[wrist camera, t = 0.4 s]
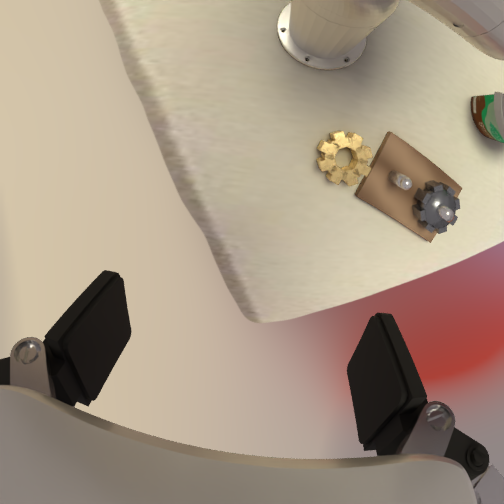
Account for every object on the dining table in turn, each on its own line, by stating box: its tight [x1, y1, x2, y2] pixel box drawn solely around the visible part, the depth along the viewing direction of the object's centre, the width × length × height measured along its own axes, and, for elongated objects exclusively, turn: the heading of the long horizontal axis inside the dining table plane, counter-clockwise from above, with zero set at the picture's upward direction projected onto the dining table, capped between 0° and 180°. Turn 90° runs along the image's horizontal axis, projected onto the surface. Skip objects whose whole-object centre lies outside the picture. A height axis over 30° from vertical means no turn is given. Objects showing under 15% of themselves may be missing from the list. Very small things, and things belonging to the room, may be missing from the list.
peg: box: [388, 170, 412, 190], centre depth 34 cm, size 2×2×5 cm
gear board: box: [355, 132, 462, 243], centre depth 38 cm, size 11×16×2 cm
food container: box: [471, 92, 504, 143], centre depth 27 cm, size 12×6×10 cm, turn 73°
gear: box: [412, 180, 460, 234], centre depth 35 cm, size 8×8×6 cm
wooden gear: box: [316, 131, 373, 186], centre depth 36 cm, size 7×7×3 cm
